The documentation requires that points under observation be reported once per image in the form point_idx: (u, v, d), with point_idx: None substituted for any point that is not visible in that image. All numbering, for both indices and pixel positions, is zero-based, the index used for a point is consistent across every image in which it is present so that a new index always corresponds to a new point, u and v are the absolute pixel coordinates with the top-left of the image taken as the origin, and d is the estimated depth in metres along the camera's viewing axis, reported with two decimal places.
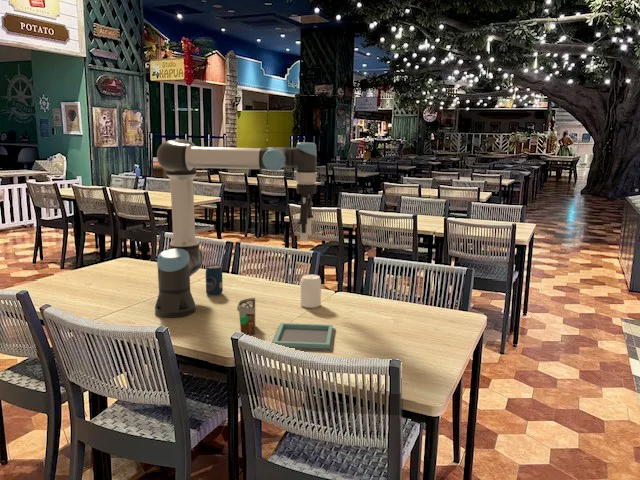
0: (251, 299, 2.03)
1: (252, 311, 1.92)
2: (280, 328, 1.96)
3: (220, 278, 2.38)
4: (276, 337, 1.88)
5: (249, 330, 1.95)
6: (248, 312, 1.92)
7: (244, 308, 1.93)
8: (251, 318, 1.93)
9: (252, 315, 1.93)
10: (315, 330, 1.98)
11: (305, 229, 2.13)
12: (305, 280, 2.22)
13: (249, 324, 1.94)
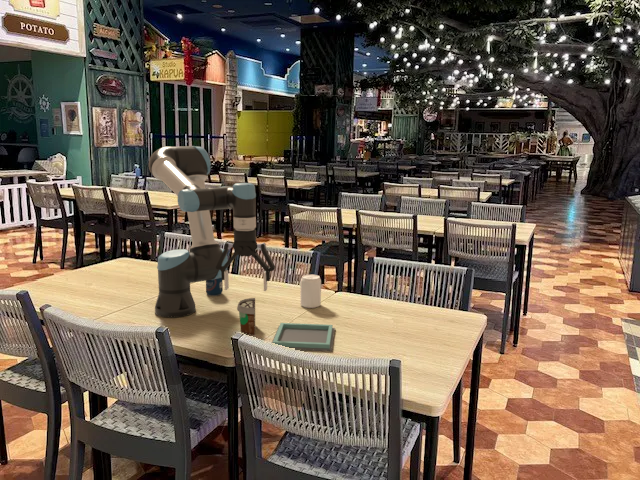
0: (251, 299, 2.03)
1: (252, 311, 1.92)
2: (280, 328, 1.96)
3: (220, 278, 2.38)
4: (276, 337, 1.88)
5: (249, 330, 1.95)
6: (248, 312, 1.92)
7: (244, 308, 1.93)
8: (251, 318, 1.93)
9: (252, 315, 1.93)
10: (315, 330, 1.98)
11: (223, 276, 1.95)
12: (305, 280, 2.22)
13: (249, 324, 1.94)
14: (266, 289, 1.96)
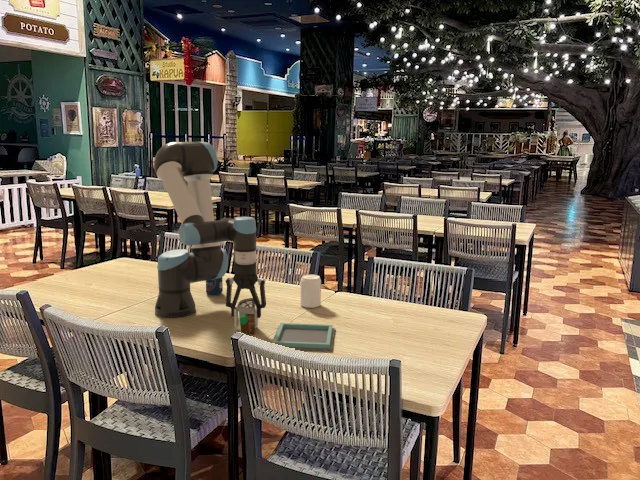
0: (251, 299, 2.03)
1: (252, 311, 1.92)
2: (280, 328, 1.96)
3: (220, 278, 2.38)
4: (276, 337, 1.88)
5: (249, 330, 1.95)
6: (248, 312, 1.92)
7: (244, 308, 1.93)
8: (251, 318, 1.93)
9: (252, 315, 1.93)
10: (315, 330, 1.98)
11: (233, 313, 1.98)
12: (305, 280, 2.22)
13: (249, 324, 1.94)
14: (257, 326, 1.99)
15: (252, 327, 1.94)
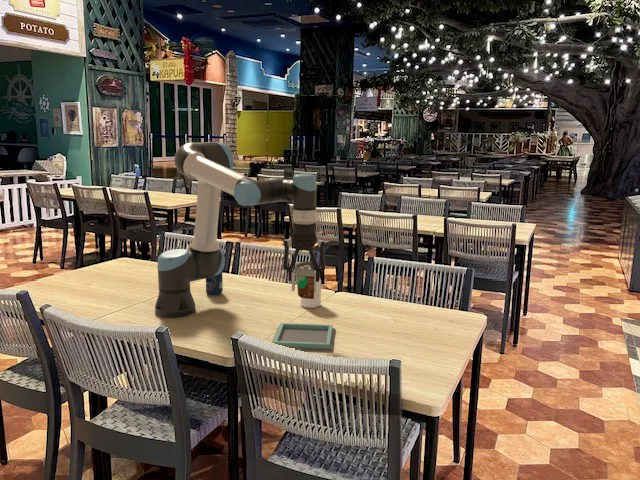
0: (308, 263, 1.92)
1: (312, 273, 1.82)
2: (280, 328, 1.96)
3: (220, 278, 2.38)
4: (276, 337, 1.88)
5: (308, 293, 1.84)
6: (308, 274, 1.82)
7: (304, 270, 1.83)
8: (311, 281, 1.83)
9: (312, 278, 1.83)
10: (315, 330, 1.98)
11: (290, 277, 1.88)
12: None
13: (308, 287, 1.84)
14: (315, 290, 1.88)
15: (311, 291, 1.84)
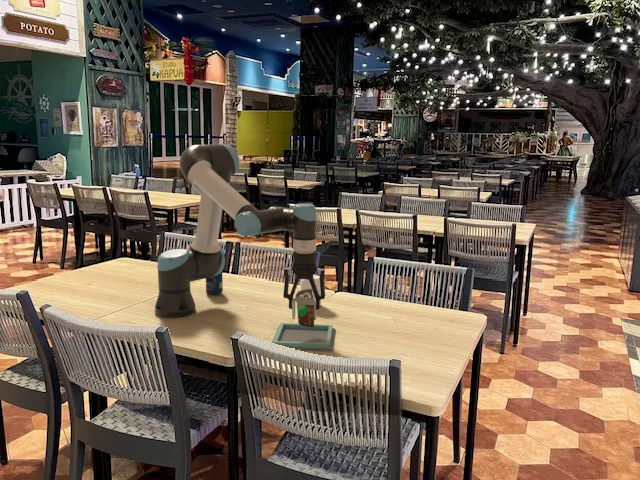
0: (308, 290, 1.94)
1: (312, 302, 1.84)
2: (280, 328, 1.96)
3: (220, 278, 2.38)
4: (276, 337, 1.88)
5: (308, 322, 1.86)
6: (308, 303, 1.84)
7: (304, 299, 1.85)
8: (311, 310, 1.85)
9: (312, 306, 1.84)
10: (315, 330, 1.98)
11: (290, 305, 1.89)
12: (305, 280, 2.22)
13: (308, 316, 1.86)
14: (315, 318, 1.90)
15: (312, 319, 1.86)
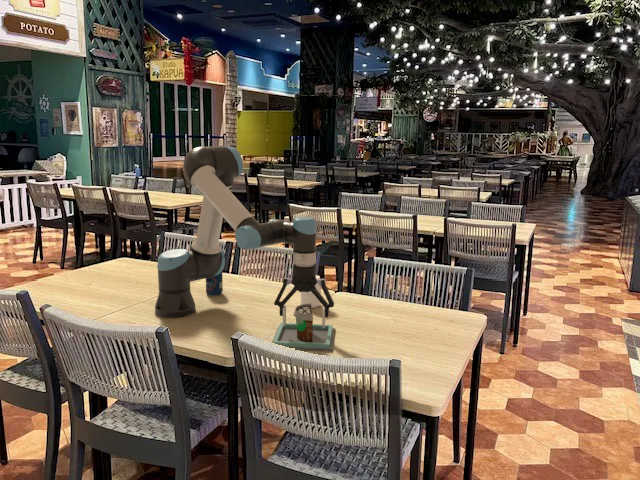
0: (307, 305, 1.95)
1: (311, 317, 1.85)
2: (280, 328, 1.96)
3: (220, 278, 2.38)
4: (276, 337, 1.88)
5: (307, 337, 1.87)
6: (306, 318, 1.85)
7: (303, 314, 1.86)
8: (309, 325, 1.86)
9: (310, 322, 1.86)
10: (315, 330, 1.98)
11: (281, 312, 1.90)
12: None
13: (307, 331, 1.87)
14: (324, 326, 1.90)
15: (310, 334, 1.87)
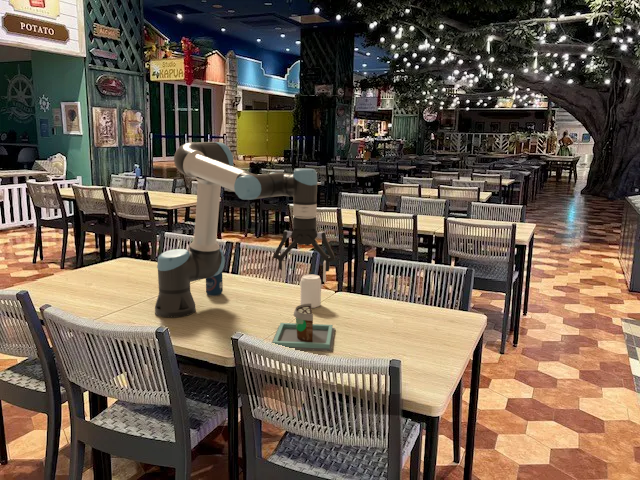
0: (307, 305, 1.95)
1: (311, 317, 1.85)
2: (280, 328, 1.96)
3: (220, 278, 2.38)
4: (276, 337, 1.88)
5: (307, 337, 1.87)
6: (306, 318, 1.85)
7: (303, 314, 1.86)
8: (309, 325, 1.86)
9: (310, 322, 1.86)
10: (315, 330, 1.98)
11: (280, 265, 1.87)
12: (305, 280, 2.22)
13: (307, 331, 1.87)
14: (325, 280, 1.87)
15: (310, 334, 1.87)
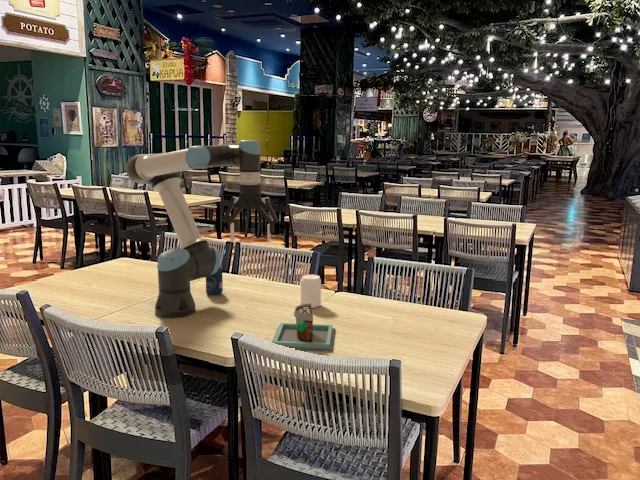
0: (307, 305, 1.95)
1: (311, 317, 1.85)
2: (280, 328, 1.96)
3: (220, 278, 2.38)
4: (276, 337, 1.88)
5: (307, 337, 1.87)
6: (306, 318, 1.85)
7: (303, 314, 1.86)
8: (309, 325, 1.86)
9: (310, 322, 1.86)
10: (315, 330, 1.98)
11: (229, 228, 2.07)
12: (305, 280, 2.22)
13: (307, 331, 1.87)
14: (269, 241, 2.08)
15: (310, 334, 1.87)
